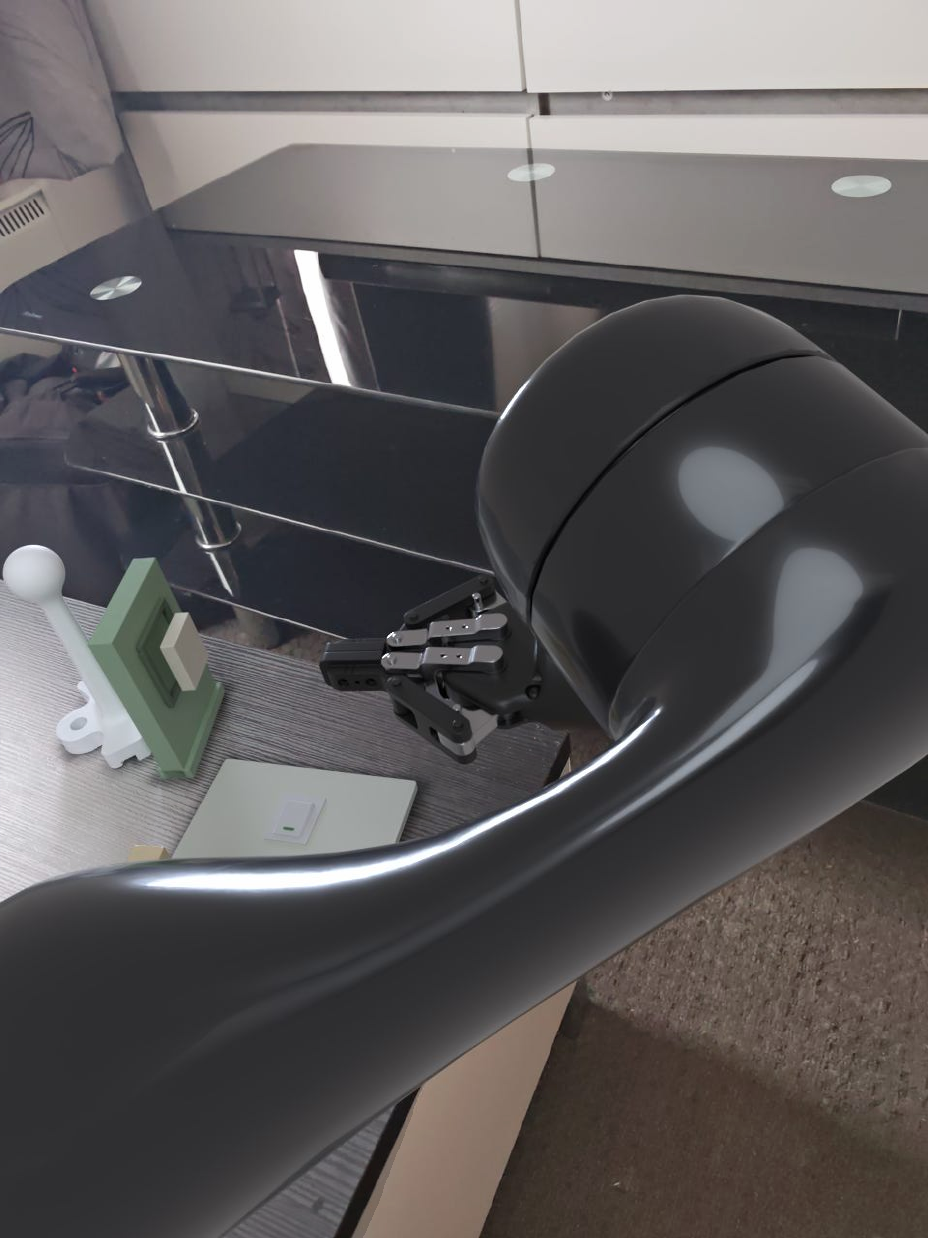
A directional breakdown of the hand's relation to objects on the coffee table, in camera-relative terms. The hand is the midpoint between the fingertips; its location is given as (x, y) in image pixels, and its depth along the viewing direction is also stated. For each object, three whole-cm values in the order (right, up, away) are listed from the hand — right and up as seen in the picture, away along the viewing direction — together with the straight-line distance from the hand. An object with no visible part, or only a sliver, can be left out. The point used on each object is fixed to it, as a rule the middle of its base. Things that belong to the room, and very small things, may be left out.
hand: (325, 665), depth 52 cm
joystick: (-24, -8, +31) cm, 40 cm away
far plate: (-15, -7, +29) cm, 33 cm away
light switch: (-5, -14, +19) cm, 24 cm away
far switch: (-14, -2, +23) cm, 27 cm away
